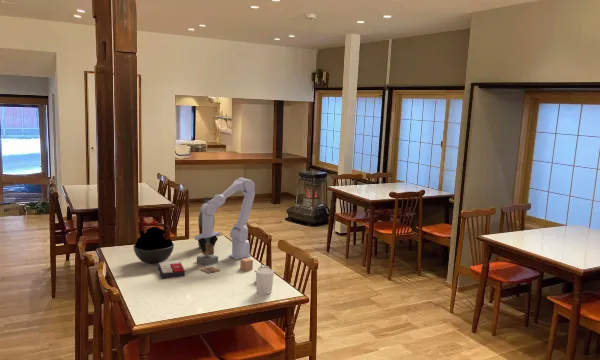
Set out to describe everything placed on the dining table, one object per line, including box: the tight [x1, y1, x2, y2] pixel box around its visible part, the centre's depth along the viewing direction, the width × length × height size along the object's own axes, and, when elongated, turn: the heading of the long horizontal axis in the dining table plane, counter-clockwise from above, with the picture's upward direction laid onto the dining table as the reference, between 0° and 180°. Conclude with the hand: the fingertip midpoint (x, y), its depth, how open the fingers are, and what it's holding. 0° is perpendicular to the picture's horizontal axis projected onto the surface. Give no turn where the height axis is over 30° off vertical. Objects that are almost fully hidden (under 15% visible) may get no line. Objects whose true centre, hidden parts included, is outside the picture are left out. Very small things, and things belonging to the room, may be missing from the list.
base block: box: [196, 254, 219, 266], centre depth 252 cm, size 8×8×4 cm
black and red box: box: [157, 260, 186, 280], centre depth 234 cm, size 11×4×15 cm
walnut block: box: [201, 243, 215, 256], centre depth 251 cm, size 4×4×5 cm
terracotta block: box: [239, 257, 254, 272], centre depth 244 cm, size 4×4×5 cm
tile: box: [200, 265, 221, 274], centre depth 240 cm, size 7×7×1 cm
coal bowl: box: [133, 226, 175, 265], centre depth 246 cm, size 20×20×19 cm
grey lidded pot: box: [254, 263, 275, 276], centre depth 228 cm, size 9×8×10 cm
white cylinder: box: [255, 268, 275, 296], centre depth 213 cm, size 8×8×10 cm
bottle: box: [197, 196, 215, 250], centre depth 276 cm, size 9×9×30 cm
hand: (207, 250), depth 251 cm, fingers closed on walnut block, 4 cm apart
